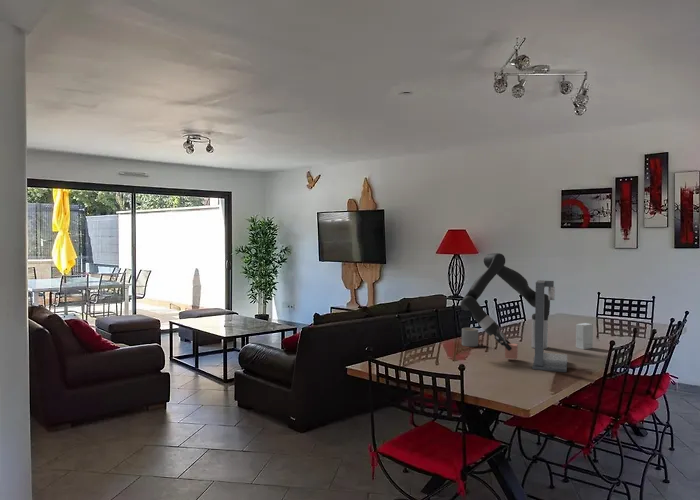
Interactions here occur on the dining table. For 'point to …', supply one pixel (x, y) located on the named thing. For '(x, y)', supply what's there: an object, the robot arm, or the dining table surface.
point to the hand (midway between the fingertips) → (511, 348)
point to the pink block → (512, 351)
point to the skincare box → (584, 336)
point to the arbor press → (543, 359)
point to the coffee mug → (470, 337)
